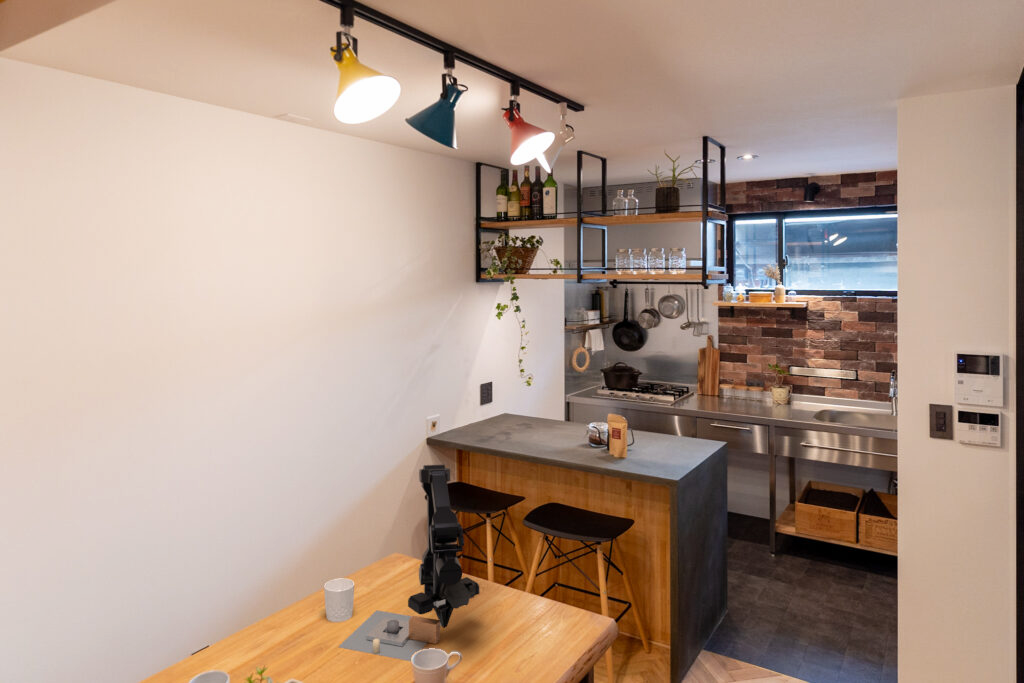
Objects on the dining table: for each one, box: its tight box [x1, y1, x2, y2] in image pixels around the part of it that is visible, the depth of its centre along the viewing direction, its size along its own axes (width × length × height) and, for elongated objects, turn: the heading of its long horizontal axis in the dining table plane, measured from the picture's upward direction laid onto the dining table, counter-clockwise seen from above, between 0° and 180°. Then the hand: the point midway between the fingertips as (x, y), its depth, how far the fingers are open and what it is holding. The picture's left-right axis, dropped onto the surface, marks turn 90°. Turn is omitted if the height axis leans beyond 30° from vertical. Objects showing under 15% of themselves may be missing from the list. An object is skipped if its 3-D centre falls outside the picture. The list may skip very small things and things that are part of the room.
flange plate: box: [366, 615, 441, 646], centre depth 174 cm, size 18×10×5 cm, turn 73°
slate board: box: [338, 609, 442, 662], centre depth 176 cm, size 20×20×4 cm
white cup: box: [323, 577, 355, 623], centre depth 184 cm, size 8×8×10 cm
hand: (444, 626), depth 175 cm, fingers closed
